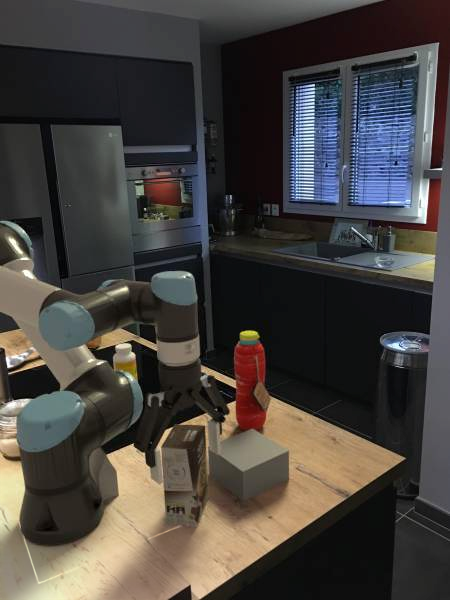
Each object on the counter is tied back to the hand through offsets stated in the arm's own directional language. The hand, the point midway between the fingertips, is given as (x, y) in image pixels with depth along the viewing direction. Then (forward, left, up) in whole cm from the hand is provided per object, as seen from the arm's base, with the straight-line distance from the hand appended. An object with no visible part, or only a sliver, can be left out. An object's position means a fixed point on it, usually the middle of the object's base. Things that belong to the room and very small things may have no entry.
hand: (187, 465), depth 98 cm
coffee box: (0, 0, -10) cm, 10 cm away
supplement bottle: (+22, +60, -10) cm, 65 cm away
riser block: (+16, 0, -10) cm, 19 cm away
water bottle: (+31, +14, -10) cm, 35 cm away
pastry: (+28, +100, -11) cm, 105 cm away
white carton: (-9, +17, -10) cm, 22 cm away
